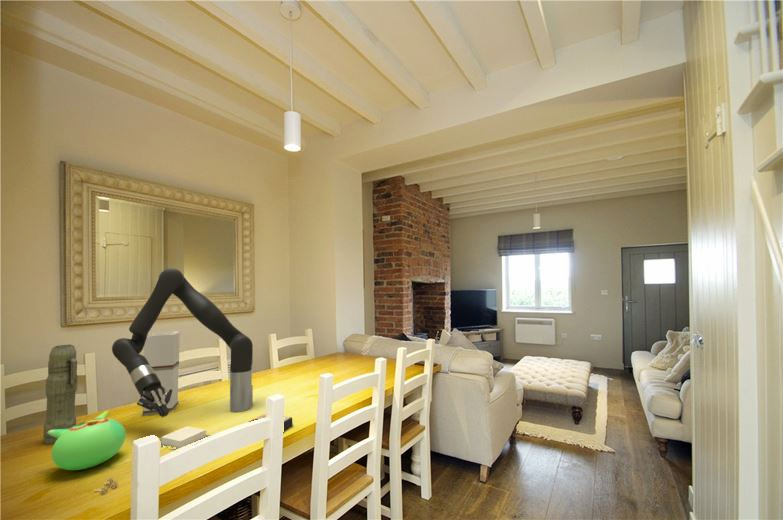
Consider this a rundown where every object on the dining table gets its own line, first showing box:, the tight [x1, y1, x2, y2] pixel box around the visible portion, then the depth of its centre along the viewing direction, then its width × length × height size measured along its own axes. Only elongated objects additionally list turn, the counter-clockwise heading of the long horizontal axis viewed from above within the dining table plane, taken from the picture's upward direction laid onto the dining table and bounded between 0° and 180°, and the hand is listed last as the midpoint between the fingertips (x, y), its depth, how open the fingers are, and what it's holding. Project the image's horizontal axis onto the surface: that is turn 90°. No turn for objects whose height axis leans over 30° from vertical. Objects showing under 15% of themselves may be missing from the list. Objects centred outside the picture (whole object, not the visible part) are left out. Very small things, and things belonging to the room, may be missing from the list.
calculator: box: [248, 414, 293, 433], centre depth 138 cm, size 11×4×15 cm
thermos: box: [42, 344, 78, 446], centre depth 134 cm, size 9×12×35 cm
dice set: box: [93, 477, 118, 495], centre depth 99 cm, size 5×5×2 cm
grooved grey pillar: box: [142, 331, 181, 417], centre depth 163 cm, size 11×11×35 cm
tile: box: [160, 426, 207, 448], centre depth 128 cm, size 3×10×10 cm
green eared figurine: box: [47, 410, 126, 471], centre depth 113 cm, size 18×17×15 cm
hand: (165, 415), depth 132 cm, fingers closed
